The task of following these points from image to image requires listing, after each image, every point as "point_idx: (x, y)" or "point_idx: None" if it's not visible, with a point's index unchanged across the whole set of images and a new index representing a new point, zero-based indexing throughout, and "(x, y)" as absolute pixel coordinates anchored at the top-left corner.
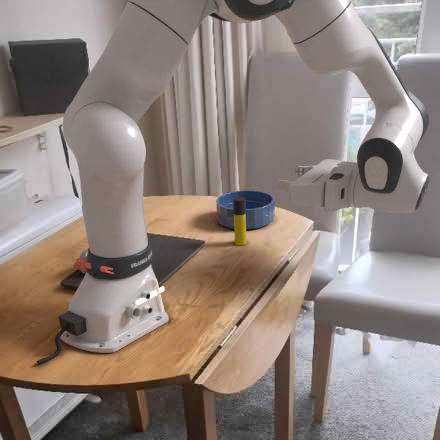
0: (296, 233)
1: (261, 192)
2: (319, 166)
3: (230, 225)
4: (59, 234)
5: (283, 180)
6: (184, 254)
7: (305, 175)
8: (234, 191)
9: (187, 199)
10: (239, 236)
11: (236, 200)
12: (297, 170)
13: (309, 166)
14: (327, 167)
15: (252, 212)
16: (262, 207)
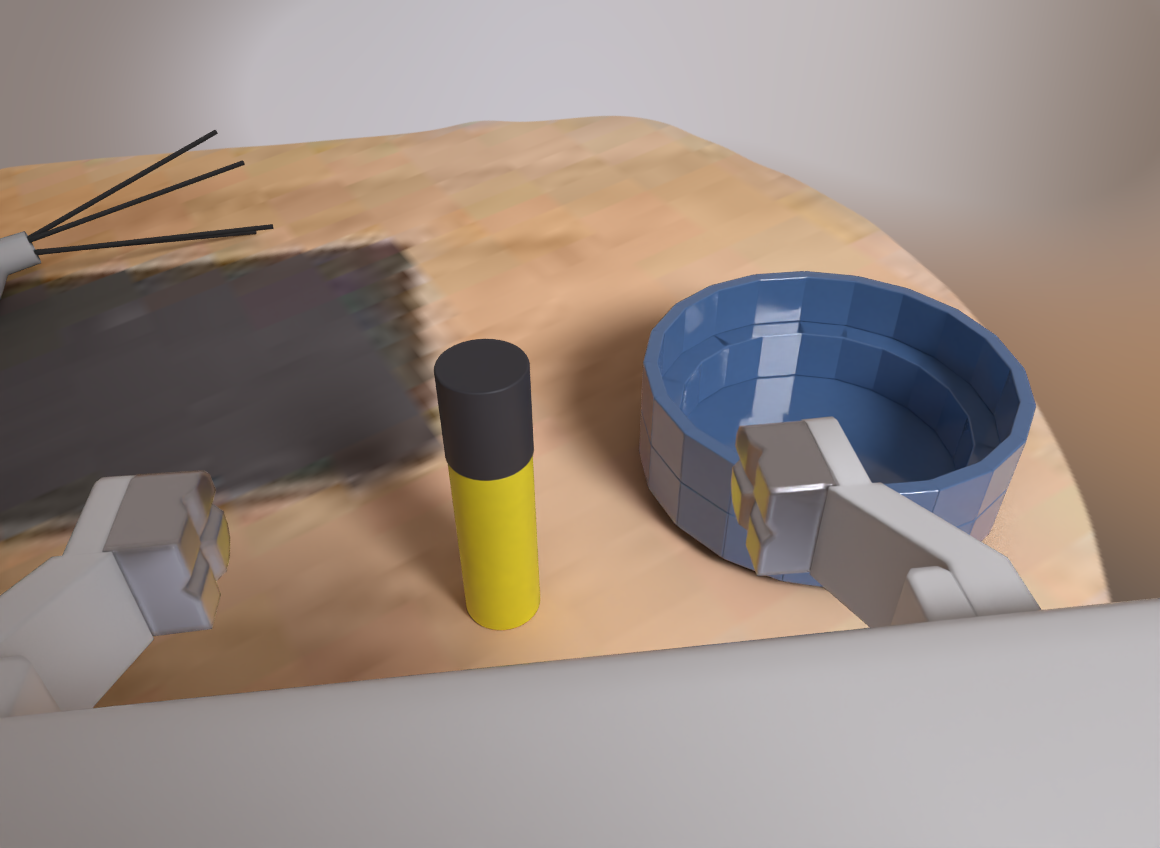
0: None
1: (1009, 372)
2: (867, 717)
3: (642, 454)
4: (283, 144)
5: (89, 534)
6: (239, 467)
7: (152, 763)
8: (888, 285)
9: (815, 218)
10: (464, 573)
11: (436, 366)
12: (744, 467)
13: (909, 530)
14: None
15: (723, 473)
16: None
